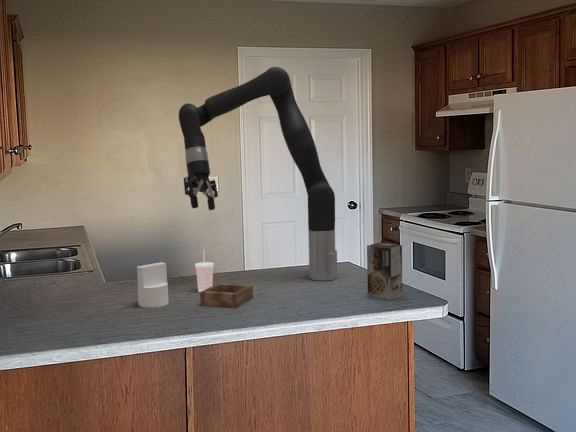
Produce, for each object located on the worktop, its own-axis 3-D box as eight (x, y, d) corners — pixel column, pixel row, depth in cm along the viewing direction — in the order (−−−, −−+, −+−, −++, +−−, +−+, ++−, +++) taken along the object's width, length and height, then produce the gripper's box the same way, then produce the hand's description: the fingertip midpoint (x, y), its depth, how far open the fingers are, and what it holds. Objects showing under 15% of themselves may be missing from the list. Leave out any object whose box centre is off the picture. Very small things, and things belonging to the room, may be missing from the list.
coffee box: (403, 296, 202) (403, 244, 200) (391, 300, 198) (391, 247, 196) (378, 292, 208) (378, 242, 206) (366, 296, 204) (366, 244, 202)
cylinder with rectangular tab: (157, 298, 207) (156, 261, 206) (174, 303, 201) (172, 264, 199) (132, 304, 201) (130, 265, 199) (149, 309, 195) (147, 269, 193)
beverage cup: (192, 292, 214) (190, 249, 212) (201, 288, 220) (199, 246, 218) (209, 293, 212) (207, 250, 210) (217, 289, 218) (216, 247, 216)
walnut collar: (253, 297, 205) (252, 285, 204) (237, 307, 194) (236, 294, 193) (218, 295, 209) (217, 283, 208) (200, 305, 198) (200, 292, 197)
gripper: (191, 156, 215) (198, 204, 212) (219, 162, 227) (225, 207, 224) (174, 162, 219) (181, 209, 216) (202, 167, 231) (208, 212, 228)
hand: (203, 208), depth 220 cm, fingers open, 8 cm apart
